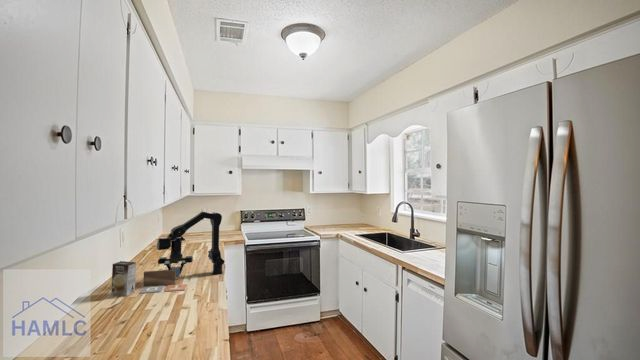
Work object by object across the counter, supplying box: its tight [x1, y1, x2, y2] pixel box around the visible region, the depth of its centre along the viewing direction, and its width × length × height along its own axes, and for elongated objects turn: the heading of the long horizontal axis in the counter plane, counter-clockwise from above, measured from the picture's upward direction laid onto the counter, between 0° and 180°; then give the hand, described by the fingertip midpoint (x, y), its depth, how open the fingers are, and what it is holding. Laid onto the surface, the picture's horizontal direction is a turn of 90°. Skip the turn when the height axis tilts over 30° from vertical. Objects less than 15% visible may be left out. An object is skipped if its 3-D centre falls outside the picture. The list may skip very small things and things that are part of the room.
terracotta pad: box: [164, 283, 188, 293], centre depth 169 cm, size 10×10×1 cm
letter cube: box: [170, 265, 181, 278], centre depth 185 cm, size 5×5×5 cm
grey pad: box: [139, 285, 165, 295], centre depth 166 cm, size 10×10×1 cm
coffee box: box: [110, 260, 137, 297], centre depth 159 cm, size 9×6×16 cm
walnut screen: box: [142, 269, 177, 288], centre depth 174 cm, size 2×16×8 cm, turn 107°
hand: (175, 274), depth 185 cm, fingers closed on letter cube, 5 cm apart
